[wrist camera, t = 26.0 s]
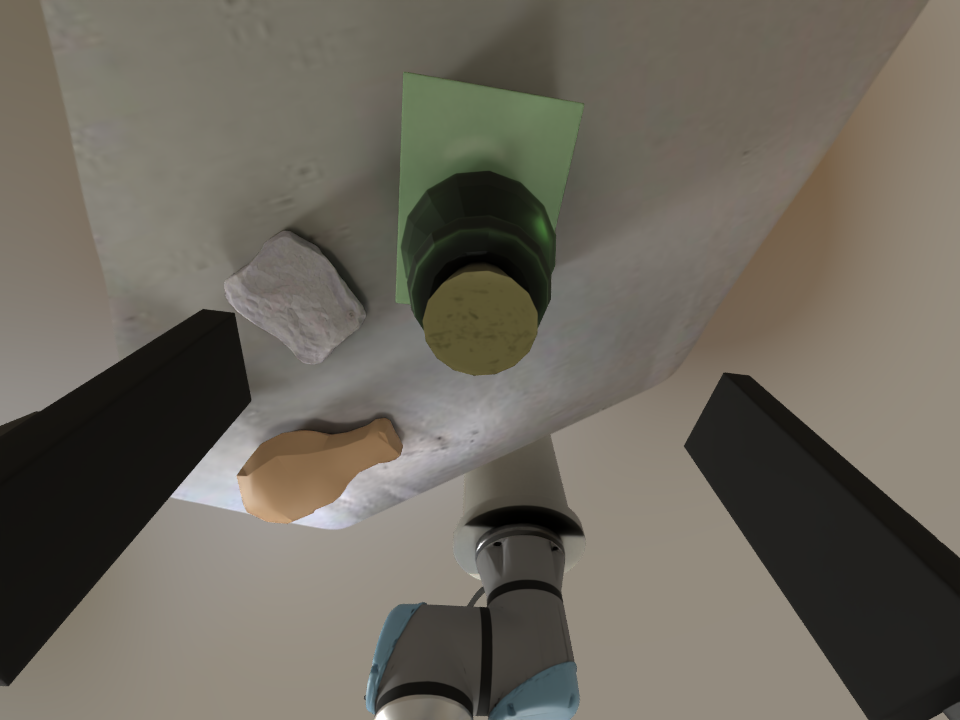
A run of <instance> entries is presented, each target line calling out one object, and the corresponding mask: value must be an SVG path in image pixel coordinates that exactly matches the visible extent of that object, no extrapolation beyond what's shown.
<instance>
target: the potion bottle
mask: <svg viewBox="0 0 960 720" xmlns="http://www.w3.org/2000/svg"><path fill="white" fill-rule="evenodd" d="M400 248H401V254H402V260H403V265H404V271H405V277H406V279H407V287H408V293H409V299H410V304H411V310H412V312H413V313H414V315H415V317H416V319H417V321H418V322H419V324H420V325H421V327H422V328H423V330H424V333H425V339H426V342H427V344H428V345H429V347H430V348H431V350H432V351H433V353H434V354H435V356H436V358H437V359H439V360H440V361H442V362H443V363H444V364H446V365H447V366H449V367H450V368H451V369H453V370H455V371H459V372H463V373H466V374H470V375H474V376H476V375H491V374H497V373H499V372H501V371H504V370H506V369H508V368H511V367H513V366H515V365H516V364H517V363H518V362H519V361H520V360H521V359H522V358H523V357H524V356H525V355H526V354H527V353H528V352H529V351H530V349H531V347H532V344H533V342H534V340H535V338H536V335H537V329H538V327H539V324H540V322H541V320H542V318H543V316H544V313H545V311H546V309H547V307H548V304H549V302H550V300H551V274H552V272H553V270H554V267H555V252H556V234H555V231H554V229H553V226H552V224H551V221H550V219H549V216H548V214H547V211H546V209H545V206H544V205H543V204H542V203H541V202H540V201H539V200H538V199H537V198H536V197H535V196H534V195H533V194H532V193H531V192H530V191H529V190H528V189H527V188H526V187H525V186H524V185H523V184H522V183H521V182H519V181H516V180H514V179H511V178H508V177H505V176H503V175H500V174H497V173H495V172H492V171H478V172H466V173H455V174H454V175H452V176H450V177H448V178H447V179H445V180H443V181H441V182H440V183H438V184H436V185H434V186H432V187H431V188H429V189H427V190H426V191H425V193H424V194H423V195H422V197H421V198H420V199H419V201H418V202H417V204H416V205H415V206H414V208H413V209H412V210H411V212H410V213H409V215H408V216H407V219H406V224H405V228H404V233H403V237H402V242H401V246H400Z"/></svg>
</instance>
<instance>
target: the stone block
mask: <svg viewBox="0 0 960 720" xmlns="http://www.w3.org/2000/svg"><path fill="white" fill-rule="evenodd" d="M224 288H225V293H224V294H225V297H226V298H227V301H228V302H229V303H230V304H231V305H232V306H233V307H234V308H235V309H236V311H237V312H239V313H240V314H241V315H243V316H244V317H245V318H247V319H248V320H250V321H251V322H252V323H253V324H255V325H257V326H258V327H260V328H261V329H263V330H265V331H267V332H269V333H271V334H272V335H274V336H275V337H277V338H278V339H280V340H281V341H282V342H283V343H284V344H285V345H286V346H287V347H289V348H290V349H291V350H292V352H293V353H294V354H295V356H296V357H297V358H298V359H299V360H300V361H302V362H304V363H308V364H317V363H321V362H323V361H324V360H325V358H327V357H328V356H329V355H330V354H331V353H332V352H333V351H334V349H335V347H336V346H337V345H338V344H340V343H341V342H342V341H344V340H345V339H346V338H347V337H348V336H349V335H350V334H352V333H353V332H354V331H356V330H357V329H358V328H360V326H361V325H362V324H363V322H364V319H365V317H366V312H365V311H364V308H363V306H362V304H361V303H360V302H359V300H358V299H357V298H356V296H355V295H354V294H353V293H352V292H351V290H350V289H349V288H348V286H347V284H346V283H345V282H344V280H343V279H342V278H341V277H340V276H339V274H338V272H337V270H336V269H335V268H334V267H333V265H332V264H331V263H330V261H329V260H328V259H327V258H326V257H325V256H324V255H323V253H322V252H321V250H320V249H319V248H318V247H317V246H316V245H314V244H313V243H310V242H308V241H306V240H304V239H303V238H301V237H299V236H297V235H296V234H294V233H292V232H291V231H281V232H279V233H278V234H277V235H275V236H274V237H272V238H270V239H269V240H268V241H266V242H265V244H264V246H263V248H262V250H261V251H260V252H259V253H258V254H257V255H256V257H255V258H254V259H253V260H252V261H251V263H250V264H248V265H246V266H245V267H243V268H242V269H240V270H239V271H238V272H236V273H234V274H233V275H231V276H230V277H229V278H228V279H227V280H226V281H225V283H224Z"/></svg>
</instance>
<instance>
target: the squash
mask: <svg viewBox="0 0 960 720" xmlns="http://www.w3.org/2000/svg"><path fill="white" fill-rule="evenodd" d="M402 448H403V445H402V443H401V441H400V439H399V437H398V435H397V434H396V432H395V430H394V428H393V426H392V424H391V421H390V420H389V419H387V418H380V419H375V420H374V421H373V422H371V423H370V424H369V425H366V426H364V427H361V428H358V429H355V430H353V431H350V432H345V433H339V434H333V435H331V434H326V433H322V432H316V431H307V430H298V431H293V432H287V433H282V434H280V435H278V436H276V437H274V438H272V439H270V440H268V441H266V442H264V443H262V444H261V445H260V446H259V447H258V448H257V450H256V451H255V452H254V453H253V454H252V456H251V457H250V458H249V459H248V461H247V462H246V463H245V465H244V466H243V467H242V469H241V470H240V472H239V473H238V474H237V479H238V484H239V488H240V492H241V496H242V501H243V505H244V507H245V509H246V511H247V512H248V513H250V514H252V515H254V516H256V517H258V518H260V519H263V520H265V521H266V522H275V523H286V524H288V523H290V522H293V521H295V520H298V519H300V518H303V517H305V516H307V515H310V514H312V513H314V511H315V510H316V509H318V508H321V507H323V506H326V505H328V504H330V503H333V502H334V501H335V500H336V499H337V498H339V497H340V496H341V494H342V493H343V492H344V490H345V488H346V487H347V485H348V483H349V482H350V481H351V480H352V479H353V478H354V477H355V476H356V475H357V474H358V473H359V472H361V471H363V470H365V469H368V468H370V467H372V466H374V465H376V464H378V463H385V462H390V461H392V460H395V459H397V458H398V457H399V456H400V455H401V452H402Z"/></svg>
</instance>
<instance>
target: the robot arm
mask: <svg viewBox="0 0 960 720" xmlns="http://www.w3.org/2000/svg"><path fill="white" fill-rule="evenodd" d="M250 402H251V395H250V390H249V385H248V380H247V374H246V369H245V364H244V359H243V354H242V348H241V343H240V338H239V333H238V328H237V322H236V317H235V313H231V312H223V311H215V310H207V309H202V310H201V311H199V312H197V313H196V314H194V315H193V316H191V317H189V318H188V319H186V320H185V321H183V322H181V323H180V324H178V325H177V326H175V327H174V328H172V329H170V330H169V331H167V332H166V333H164V334H162V335H161V336H159V337H158V338H156V339H154V340H153V341H151V342H150V343H148V344H146V345H145V346H143V347H142V348H140V349H139V350H137V351H135V352H134V353H132V354H131V355H129V356H127V357H126V358H124V359H123V360H121V361H119V362H118V363H116V364H115V365H113V366H112V367H110V368H108V369H107V370H105V371H104V372H102V373H100V374H99V375H97V376H96V377H94V378H92V379H91V380H89V381H88V382H86V383H84V384H83V385H81V386H80V387H78V388H76V389H75V390H73V391H72V392H70V393H68V394H67V395H65V396H64V397H62V398H61V399H59V400H57V401H56V402H54V403H53V404H51V405H50V406H48V407H46V408H45V409H43V410H42V411H40V412H37V411H36V412H33V413H31V414H29V415H26V416H24V417H21V418H19V419H16V420H14V421H11V422H9V423H6V424H4V425H1V426H0V686H9V685H10V684H11V683H12V682H13V680H14V679H15V678H16V677H17V676H18V675H19V673H20V672H21V671H22V670H23V668H25V666H26V665H27V664H28V663H29V662H30V660H31V659H32V658H33V657H34V656H35V654H36V653H37V652H38V651H39V650H40V649H41V648H42V646H43V645H44V644H45V643H46V642H47V640H48V639H49V638H50V637H51V636H52V635H53V633H54V632H55V631H56V630H57V629H58V628H59V626H60V625H61V624H62V623H63V622H64V621H65V619H66V618H67V617H68V616H69V615H70V613H71V612H72V611H73V610H74V609H75V608H76V606H77V605H78V604H79V603H80V602H81V601H82V599H83V598H84V597H85V596H86V595H87V594H88V592H89V591H90V590H91V589H92V588H93V586H94V585H95V584H96V583H97V582H98V580H99V579H100V578H101V577H102V576H103V575H104V573H105V572H106V571H107V570H108V569H109V568H110V566H111V565H112V564H113V563H114V562H115V561H116V559H117V558H118V557H119V556H120V555H121V554H122V552H123V551H124V550H125V549H126V548H127V546H128V545H129V544H130V543H131V542H132V541H133V539H134V538H135V537H136V536H137V535H138V534H139V532H140V531H141V530H142V529H143V528H144V527H145V525H146V524H147V523H148V522H149V521H150V520H151V518H152V517H153V516H154V515H155V514H156V512H157V511H158V510H159V509H160V508H161V507H162V505H163V504H164V503H165V502H166V501H167V500H168V498H169V497H170V496H171V495H172V494H173V493H174V491H175V490H176V489H177V488H178V487H179V485H180V484H181V483H182V482H183V481H184V480H185V478H186V477H187V476H188V475H189V474H190V473H191V471H192V470H193V469H194V468H195V467H196V465H197V464H198V463H199V462H200V461H201V460H202V458H203V457H204V456H205V455H206V454H207V453H208V451H209V450H210V449H211V448H212V447H213V446H214V444H215V443H216V442H217V441H218V440H219V438H220V437H221V436H222V435H223V434H224V433H225V431H226V430H227V429H228V428H229V427H230V426H231V424H232V423H233V422H234V421H235V420H236V419H237V417H238V416H239V415H240V414H241V413H242V411H243V410H244V409H245V408H246V407H247V406H248V404H249V403H250ZM684 447H685V448H686V450H687V451H688V453H689V454H690V456H691V457H692V459H693V460H694V462H695V463H696V465H697V466H698V468H699V469H700V471H701V472H702V474H703V475H704V477H705V478H706V480H707V481H708V483H709V484H710V486H711V487H712V489H713V490H714V492H715V493H716V495H717V496H718V497H719V499H720V500H721V502H722V503H723V505H724V506H725V508H726V509H727V511H728V512H729V514H730V515H731V517H732V518H733V520H734V521H735V523H736V524H737V525H738V527H739V528H740V530H741V531H742V533H743V535H744V536H745V537H746V539H747V540H748V542H749V543H750V545H751V546H752V548H753V549H754V551H755V552H756V554H757V555H758V557H759V558H760V560H761V561H762V563H763V564H764V566H765V567H766V569H767V570H768V572H769V573H770V574H771V576H772V577H773V579H774V580H775V582H776V583H777V585H778V586H779V588H780V589H781V591H782V592H783V594H784V595H785V597H786V598H787V600H788V601H789V603H790V604H791V606H792V607H793V609H794V610H795V612H796V613H797V615H798V616H799V617H800V619H801V620H802V622H803V623H804V625H805V626H806V628H807V629H808V631H809V632H810V634H811V635H812V637H813V638H814V640H815V641H816V643H817V644H818V646H819V647H820V649H821V650H822V651H823V653H824V655H825V656H826V658H827V659H828V660H829V662H830V663H831V665H832V666H833V668H834V669H835V671H836V672H837V674H838V675H839V677H840V678H841V680H842V681H843V683H844V684H845V686H846V687H847V689H848V690H849V692H850V693H851V695H852V696H853V698H854V699H855V700H856V702H857V703H858V705H859V706H860V708H861V709H862V711H863V712H864V714H865V715H866V717H867V718H868V720H929V719H931V718H933V717H935V716H937V715H939V714H940V713H942V712H943V713H944V714H945V715H946V716H947V718H948V719H949V720H960V558H959V557H958V556H957V555H956V554H955V553H954V552H953V551H951V550H950V549H949V548H948V547H947V546H946V545H944V544H943V543H941V542H940V541H939V540H938V539H937V538H936V537H935V536H934V535H933V534H932V533H931V532H929V531H928V530H927V529H926V528H925V527H924V526H923V525H921V524H920V523H919V522H918V521H917V520H916V519H915V518H913V517H912V516H911V515H910V514H908V513H907V512H906V511H905V510H903V509H902V508H901V507H900V506H899V505H898V504H896V503H895V502H894V501H893V500H892V499H891V498H890V497H888V496H887V495H886V494H885V493H884V492H883V491H882V490H880V489H879V488H878V487H877V486H876V485H875V484H873V483H872V482H871V481H870V480H869V479H868V478H867V477H865V476H864V475H863V474H862V473H861V472H859V470H857V469H856V468H855V467H854V466H853V465H851V464H850V463H849V462H848V461H847V460H846V459H845V458H844V457H842V456H841V455H840V454H839V453H838V452H837V451H836V450H834V449H833V448H832V447H831V446H830V445H829V444H827V443H826V442H825V441H824V440H823V439H822V438H820V437H819V436H818V435H817V434H816V433H815V432H814V431H813V430H811V429H810V428H809V427H808V426H807V425H806V424H804V423H803V422H802V421H801V420H800V419H799V418H798V417H796V416H795V415H794V414H793V413H792V412H790V410H788V409H787V408H786V407H785V406H784V405H783V404H781V403H780V402H779V401H778V400H777V399H776V398H774V397H773V396H772V395H771V394H770V393H769V392H767V391H766V390H765V389H764V388H763V387H762V386H760V384H758V383H757V382H756V381H755V380H754V379H753V378H752V377H750V376H749V375H740V374H732V373H723V375H722V377H721V379H720V380H719V382H718V384H717V386H716V388H715V390H714V391H713V393H712V395H711V397H710V399H709V401H708V403H707V404H706V406H705V408H704V410H703V412H702V414H701V415H700V417H699V419H698V421H697V423H696V425H695V427H694V428H693V430H692V432H691V434H690V436H689V438H688V439H687V441H686V443H685V445H684ZM475 561H476V566H477V569H478V572H479V575H480V578H481V581H482V584H483V587H482V588H480V589H479V590H478V591H477V593H476V594H475V595H474V596H473V598H472V599H471V601H470V602H469V604H468V605H467V606H446V605H427V603H425V602H422V603H419V604H400V605H398V606H397V607H395V608H394V609H393V610H392V611H391V612H390V613H389V615H388V617H387V619H386V621H385V623H384V626H383V628H382V631H381V634H380V637H379V640H378V643H377V647H376V650H375V654H374V658H373V666H372V668H371V672H370V676H369V680H368V685H367V692H366V695H365V696H364V699H365V700H366V708H367V710H368V711H369V712H372V714H375V718H374V720H473V716H488V720H570V719H571V718H572V717H573V716H574V714H575V713H576V711H577V709H578V706H579V700H580V698H579V690H578V682H577V676H576V672H577V666H576V664H575V662H574V656H573V651H572V646H571V641H570V636H569V630H568V625H567V620H566V615H565V610H564V605H563V599H562V594H561V588H562V580H563V572H564V564H565V550H564V546H563V541H562V539H561V537H560V536H559V535H558V533H557V532H555V531H554V530H553V529H551V528H549V527H547V526H545V525H542V524H539V523H535V522H526V521H518V522H509V523H505V524H501V525H498V526H496V527H494V528H492V529H490V530H488V531H487V532H485V533H484V534H483V535H482V536H481V537H480V538H479V540H478V541H477V544H476V547H475ZM484 593H486V596H487V607H473V606H474V604H475V603H476V601H477V600H478V599H479V598H480V597H481V595H482V594H484Z"/></svg>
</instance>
